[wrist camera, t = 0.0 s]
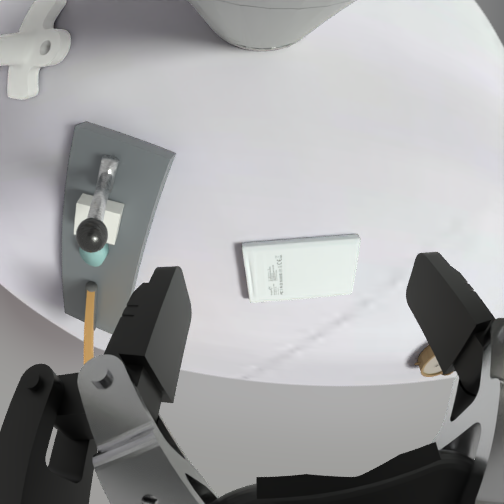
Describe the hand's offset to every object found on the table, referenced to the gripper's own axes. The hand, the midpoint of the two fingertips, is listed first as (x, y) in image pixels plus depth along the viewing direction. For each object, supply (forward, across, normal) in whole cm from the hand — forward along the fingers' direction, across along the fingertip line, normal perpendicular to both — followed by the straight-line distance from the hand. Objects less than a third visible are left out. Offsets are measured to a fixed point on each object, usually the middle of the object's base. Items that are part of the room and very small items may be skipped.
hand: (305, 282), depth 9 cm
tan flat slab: (+15, +24, +16) cm, 33 cm away
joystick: (+16, +21, -16) cm, 31 cm away
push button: (+15, +19, +6) cm, 25 cm away
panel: (+18, +20, +8) cm, 28 cm away
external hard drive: (+19, -3, +12) cm, 23 cm away
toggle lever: (+14, +14, -1) cm, 20 cm away
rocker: (+15, +17, +3) cm, 22 cm away
